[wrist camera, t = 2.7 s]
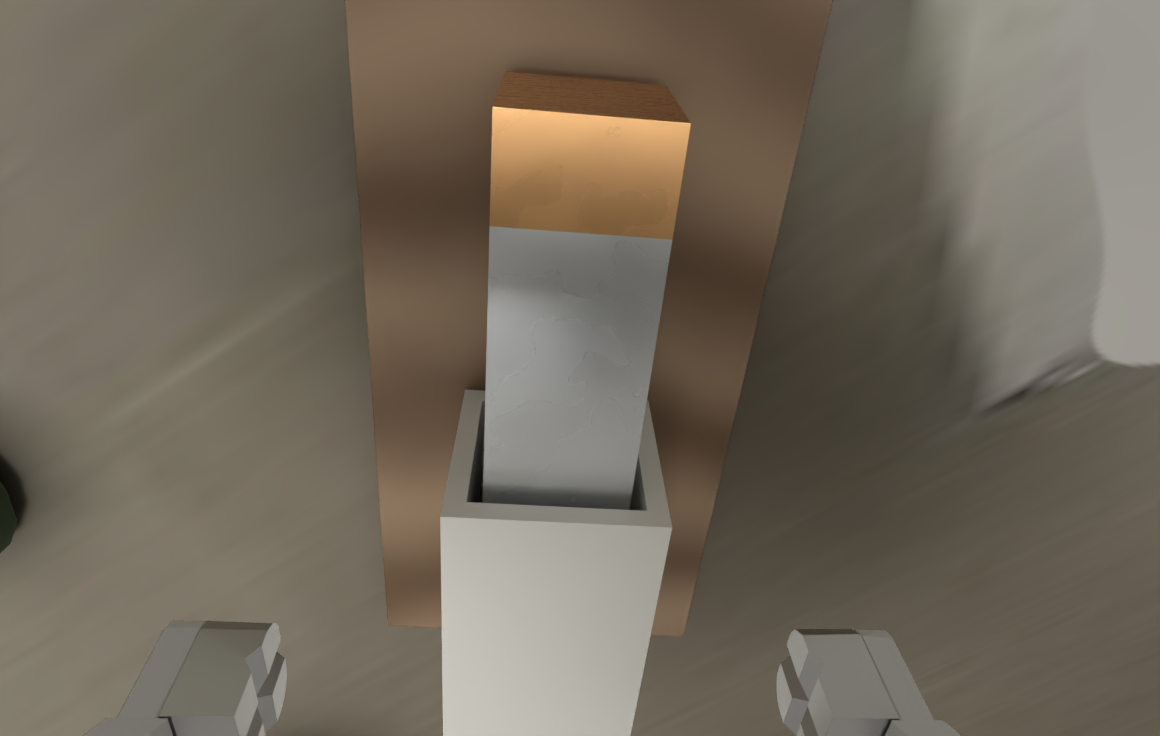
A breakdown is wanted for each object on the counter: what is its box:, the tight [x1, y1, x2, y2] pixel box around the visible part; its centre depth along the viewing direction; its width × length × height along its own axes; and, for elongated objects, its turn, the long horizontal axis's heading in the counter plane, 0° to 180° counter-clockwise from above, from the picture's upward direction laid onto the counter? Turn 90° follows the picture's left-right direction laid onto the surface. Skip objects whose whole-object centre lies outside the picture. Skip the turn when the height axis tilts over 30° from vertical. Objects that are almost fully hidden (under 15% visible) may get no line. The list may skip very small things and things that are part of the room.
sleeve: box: [440, 389, 672, 736], centre depth 24 cm, size 11×6×6 cm, turn 175°
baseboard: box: [345, 0, 833, 636], centre depth 22 cm, size 34×12×1 cm, turn 175°
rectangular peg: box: [483, 71, 691, 510], centre depth 22 cm, size 20×4×4 cm, turn 175°
